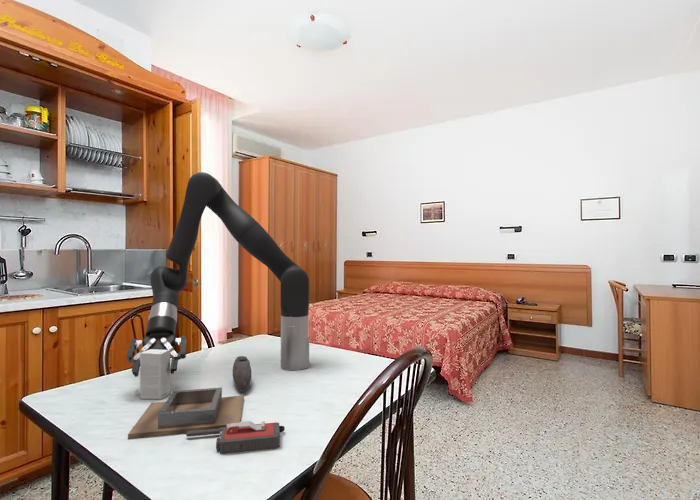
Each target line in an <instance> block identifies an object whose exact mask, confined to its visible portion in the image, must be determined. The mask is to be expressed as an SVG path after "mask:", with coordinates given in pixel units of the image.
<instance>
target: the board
mask: <svg viewBox="0 0 700 500" xmlns="http://www.w3.org/2000/svg"><path fill="white" fill-rule="evenodd" d="M244 396H245V395H234V396H222V400H221V404H220V407H219V410H218V414H217V417H216V421H215V423H213V424H202V425H191V426H180V427H169V428H159V429H158V414H159V412H160V411H161V409H162V408H163V406H164V405H165V403H166V401H158V402H155V401H154V402H151V403H150V404H149V405H148V407H147V408H146V409H145V411H144V412H143V413H142V414H141V415H140V417H139V419H138V420H137V422H136V423H134V425H133V426H132V428H131V429H130V431H129V432H128V434H127V439H128V440H132V439H142V438H151V437H152V438H153V437H154V438H155V437H161V436H162V437H164V436H173V435H182V434H184V435H186V433H187V432H188V431H197V430H209V429H220V428H223V427H226V426H227V424H230V423H232V422H242V421H241V420H242V413H243V406H244V399H245V398H244ZM211 403H212V402H204V403H191V404H179V405H177V406H176V408H175V410H174V411H178V410H190V409H202V408H210V406H211Z"/></svg>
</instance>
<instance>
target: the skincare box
mask: <svg viewBox="0 0 700 500" xmlns="http://www.w3.org/2000/svg"><path fill="white" fill-rule="evenodd" d="M170 368H171V357H170V350H159V349H149V350H147V351H144V352H142V353H140V369H139V377H140V378H139V380H140V382H139V391H140V392H139V398H140V399H141V400H143V399H144V400H162V399H164V398H165V397H167V396H170V395H171V372H170Z"/></svg>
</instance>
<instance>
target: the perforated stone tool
mask: <svg viewBox="0 0 700 500" xmlns="http://www.w3.org/2000/svg"><path fill="white" fill-rule="evenodd" d="M232 379H233V382H234V384H235V386H236V388H237V390H239V391H240V392H242V393H243V392H245V391H247V390H248V389H249V387H250V384H251V382H252V367H251V362H250V359H249V358H248V357H247V356H243V355H241V356H237V357H236V358H235V360H234V362H233V365H232Z"/></svg>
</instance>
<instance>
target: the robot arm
mask: <svg viewBox="0 0 700 500" xmlns="http://www.w3.org/2000/svg"><path fill="white" fill-rule="evenodd" d="M206 207H207V208H208V209H209V210H210V211H212V213H214V214H215V215H216V216H217V218H219V219H220V220H221V222H222V223H223V224H224V225H223V226H224V227H225V228H226V229H227V231H228V233H230V235H231V236H232V237H233V239H234V240H235V241H236V242H237V243H238V244H239V245H240V246H241V247H242V248H243V249H244V250H245V251H246V252H247V253H248V254H250V255H251V256H253V258H255V259H256V260H258V261H259V262H260V263H262V264H263V265H265V266H266V267H267V268H268V269H269V271H270V272H272V274H273V275H274V276H275V277H276V278H277V279H278V280H279V282H280V368H281V369H283V370H286V371H299V370H303V369H309V368H310V338H309V327H310V326H309V325H310V324H309V321H310V320H309V314H310V313H309V309H310V279H309V275H308V273H307V272H306V270H305V269H303V268H302V266H301V267H300V266H299V265H298V264H297V263H296V262H295V261H293V260H292V259H291V258H290V257H288V256H287V255H286V253H285V252H283V250H282V249H281V247H280V246H279V245H278V244H277V243H276V241H275V240H274V239H273V237H272V235H270V234H269V233H268V231H266V229H265V228H264V227H263V226H262V225H261V224H260V223H259V222H258V221H257V220H256V219H255V218H254V217H253V216H251V214H250V213H248V212H247V211H246V210H244V209H243V208H242V207H241V206H239V205H238V204H237V203H236V202H235V201H234V200H233V198H232V197H231V196H230V195H229V194H228V192H227V191H226V190H225V188H224V187H223V186H222V184H221V183H220V182H219V181H218V179H216V178H215V177H214V176H213V175H211V174H210V173H206V172H202V171H200V172H196V173H194V174H192V175H191V176H190V178H189V179H188V182H187V186H186V190H185V196H184V200H183V205H182V207H181V208H182V209H181V211H180V216H179V218H178V221H177V225H176V227H175V230H174V233H173V236H172V238H171V239H170V240H171V241H170V242H169V246H168V248H167V251H166V253H165V256H166V258H167V260H169V261H171V262H173V263H175V264H176V265H178V269H175V268H172V267H167V266H164V265H159V266H157V267H155V268H154V269H153V270H152V272H151V274H150V279H149V280H150V285H151V287H150V288H151V289H152V290H151V291H152V303H151V309H150V310H149V313H148V320H147V324H146V329H145V334H144V335H145V336H144V337H143V338H142V339H141V340H137V339H136V338H135V337H134V338H132V339H131V340H130V342H129V347H128V350H127V354H126V355H125V356H126V359H127V362H128V363H129V364H130V363H132V367H131V373H132V375H133V376H134V377H135V378H137V377H139V376H140V353H142V352H144V351H147V350H149V349H159V350H170V375H172V374H174V373H175V372H177V370H178V365H179V361H180V360H184V359H186V357H187V337H186V336H185V335H182V336H181V337H176V330H177V323H178V307H179V294H178V293H180V292H182V291H183V290H184V289H185V288H186V286H187V281H188V268H189V264H190V263H189V262H190V260H191V256H192V255H193V254H192V253H193V250H194V249H195V245H196V243H197V240H198V234H199V229H200V224H201V221H202V216H203V214H204V212H205V209H206ZM176 344H177V345H178V346H180V352H178V353H177V351H175V349H174V346H175V345H176ZM141 346H143V347H142V348H141V349H140V350H139V352H138V353H136V352H137V350H138V349H139V348H140V347H141Z"/></svg>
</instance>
